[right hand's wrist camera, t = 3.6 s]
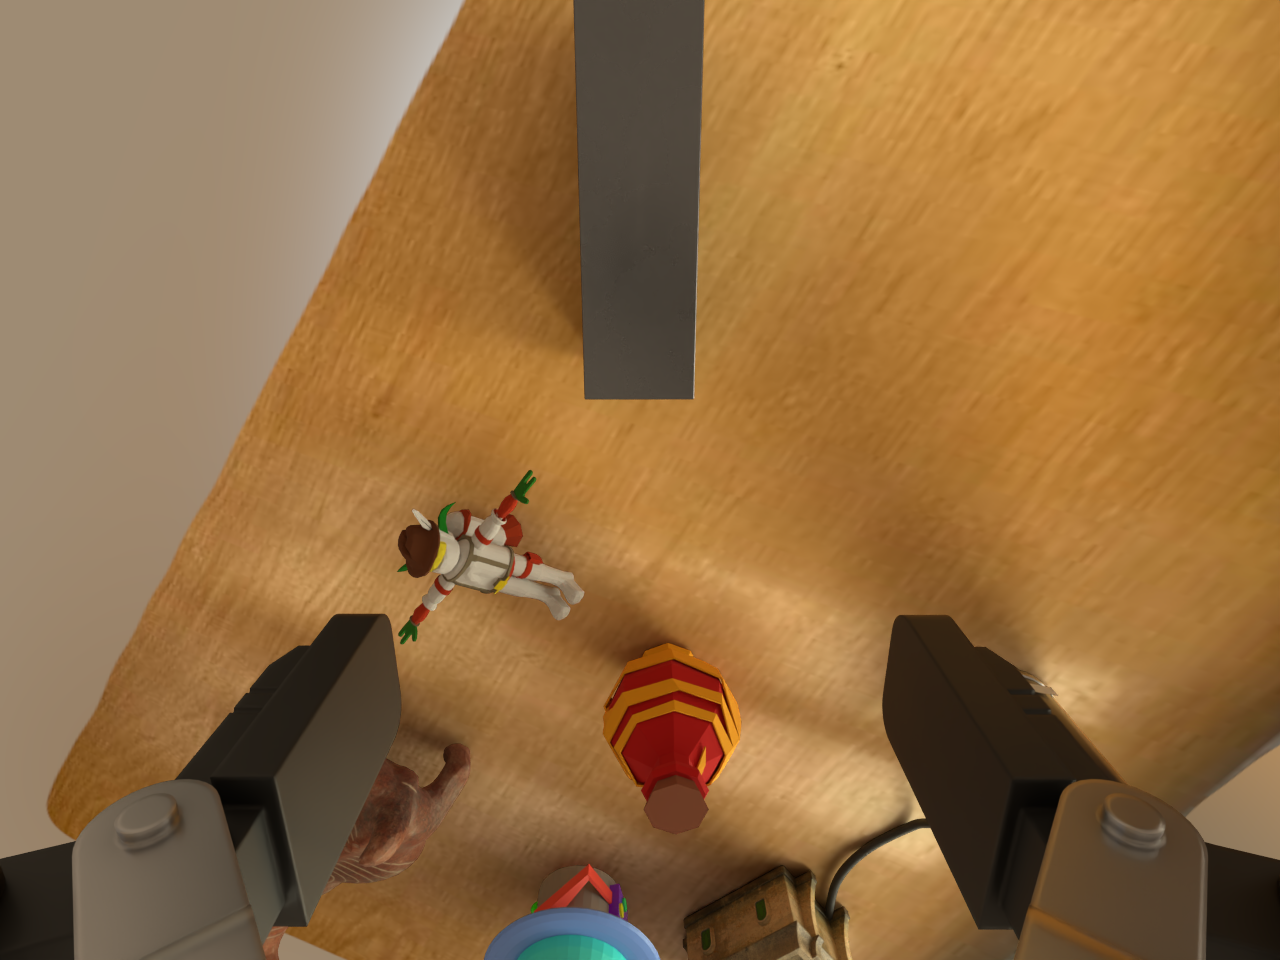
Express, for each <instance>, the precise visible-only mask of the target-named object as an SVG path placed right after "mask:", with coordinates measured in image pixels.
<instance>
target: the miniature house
mask: <svg viewBox="0 0 1280 960" xmlns="http://www.w3.org/2000/svg"><path fill="white" fill-rule="evenodd" d="M816 884H817V881H816V877H815V875H814V874H813V873H812V872H811V871H808V872H806V873H804V874H803V875H801V876H799V877H797V878H794V877H793V876H792V874H791V873H790V872H789V871H788V870H787V869H786V868H785V867H784V866H779V867H778V868H776V869H774V870H772V871H770V872H769V873H767V874H765V875H763V876H761V877H759V878H758V879H756V880H754V881H752V882H750V883H749V884H747V885H745V886H743V887H741V888H739V889H738V890H736V891H734V892H732V893H730V894H728V895H727V896H725V897H723V898H721V899H719V900H718V901H716V902H714V903H712V904H710V905H708V906H707V907H705V908H703V909H701V910H699V911H698V912H696V913H694V914H692V915H690V916H688V917H687V918H685V919H684V928H685V929H686V936H687V937H686V938H685V939H683V948H684V949H685V950H686V951H687V953H688V960H852V956H851V953H850V949H849V940H848V921H849V919H850V917H849V914H848V911H847V910H846V909H845V908H844V907H843V906H842V907H840V908H839V909H837V910H835V911H834V912H833V917H832V919H831V921H829V919H828V918H827V916H826V914H825V910H824V909H823V908H822V907H821V906H820V905H819V903H818V902H817V901H816V900H815V886H816Z"/></svg>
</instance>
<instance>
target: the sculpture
mask: <svg viewBox="0 0 1280 960" xmlns="http://www.w3.org/2000/svg"><path fill="white" fill-rule="evenodd" d="M443 757H444V761H445V762H446V764H445V766H444V768H443V769H442V771H441V772H440V774H439V775H438V777H437V778H436V779H435V780H434V781H433V782H432V783H431V784H429V785H428V786H426V787H423V788H421V787H419V781H418V776H417V775H416V774H415V773H414V771H412V770H410V769H408V768H407V767H404V766H400V765H398V764H395V763H393V762H392V761H390V760H388V759H386V758H385V761H384V763H383V765H382V767H381V769H380V771H379V773H378V776H377V778H376V780H375V782H374V784H373V786H372V788H371V790H370V793H369V795H368V797H367V799H366V801H365V803H364V805H363V808H362V810H361V812H360V814H359V816H358V818H357V820H356V823H355V825H354V827H353V829H352V831H351V833H350V835H349V837H348V840H347V842H346V844H345V846H344V848H343V850H342V852H341V855H340V857H339V859H338V861H337V863H336V865H335V867H334V870H333V872H332V874H331V876H330V878H329V880H328V882H327V884H326V887H325V889H324V891H323V893H322V895H323V894H325V893H327V892H329V891H330V890H332V889H333V888H335V887H336V886H338V885H339V884H340V883H342V882H345V883H371V882H376V881H381V880H385V879H387V878H390V877H393V876H395V875H398V874H399V873H401V872H402V871H404V870H405V869H407V868H408V867H409V866H411V865H412V864H413V863H414V862H415V861H416V860H417V859H418V857H419V855H420V854H421V852H422V850H423V848H424V846H425V842H426V839H428V838H429V837H430V836H431V835H432V833H433V832H434V831H435V830H436V829H437V828H438V827H439V825H440V824H441V822H442V821H443V819H444V818H445V816H446V815H447V813H448V811H449V810H450V808H451V807H452V805H453V803H454V801H455V800H456V799H457V797H458V796H459V794H460V792H461V791H462V789H463V787H464V785H465V784H466V782H467V780H468V777H469V774H470V750H469V748H468V747H466V746H464V745H462V744H452V745H450V746H448V747H446V748H445V750H444V754H443ZM287 928H288V927H272V929H271V931H270V933H269V935H268V937H267V938H266V940H265V942H264V944H263V949H264V953H265V957H266V960H279V957H278V947H279V944H280V940H281V938H282V936H283V934H284V933H285V931H286V929H287Z"/></svg>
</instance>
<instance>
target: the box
mask: <svg viewBox="0 0 1280 960" xmlns="http://www.w3.org/2000/svg"><path fill="white" fill-rule="evenodd" d="M704 1H705V0H574V36H575V71H576V107H577V143H578V179H579V215H580V251H581V287H582V323H583V359H584V394H585V399H694V382H695V344H696V306H697V267H698V229H699V191H700V153H701V115H702V77H703V39H704Z"/></svg>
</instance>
